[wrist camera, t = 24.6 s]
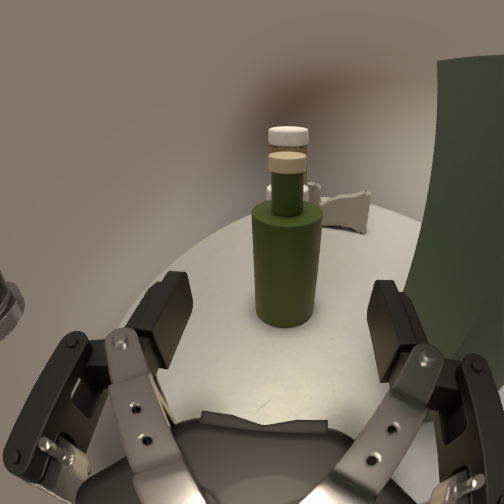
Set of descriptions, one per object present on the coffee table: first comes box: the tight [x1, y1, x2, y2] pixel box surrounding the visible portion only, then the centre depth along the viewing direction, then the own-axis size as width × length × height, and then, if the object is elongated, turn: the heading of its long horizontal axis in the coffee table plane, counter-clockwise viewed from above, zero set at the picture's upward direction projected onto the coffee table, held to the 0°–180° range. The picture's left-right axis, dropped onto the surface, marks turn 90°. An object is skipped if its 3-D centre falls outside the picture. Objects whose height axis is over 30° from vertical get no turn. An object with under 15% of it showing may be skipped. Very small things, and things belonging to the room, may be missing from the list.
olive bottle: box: [252, 152, 323, 328], centre depth 21 cm, size 5×5×13 cm
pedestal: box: [403, 55, 504, 422], centre depth 11 cm, size 8×8×20 cm
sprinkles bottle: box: [268, 126, 309, 186], centre depth 33 cm, size 5×5×14 cm
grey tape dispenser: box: [307, 182, 371, 234], centre depth 36 cm, size 6×1×10 cm
